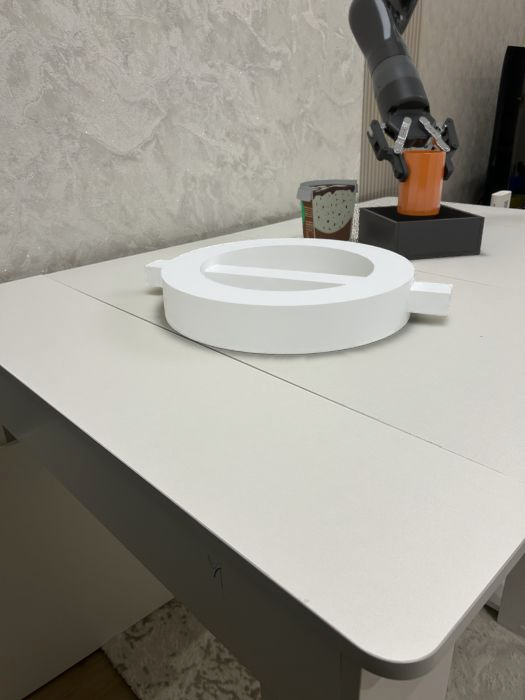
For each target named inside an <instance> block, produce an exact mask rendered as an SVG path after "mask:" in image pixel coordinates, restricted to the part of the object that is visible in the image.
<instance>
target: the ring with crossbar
mask: <svg viewBox="0 0 525 700" xmlns="http://www.w3.org/2000/svg"><path fill="white" fill-rule="evenodd" d="M143 269H144V277H145V278H144V279H145V286H146V287H153V288H154V287H156V288H162V297H163V307H164V317H165V320H166V322H167V324H168V325H169V326H170V327H171V328H172V329H173V330H174V331H175V332H177V333H178V334H180V335H182V336H184V337H186V338H188V339H190V340H193V341H195V342H197V343H201V344H203V345H207V346H211V347H215V348H219V349H225V350H229V351H236V352H243V353H251V354H265V355H266V354H267V355H303V354H304V355H307V354H319V353H320V354H321V353H328V352H335V351H341V350H348V349H353V348H357V347H361V346H365V345H368V344H372V343H375V342H377V341H381V340H382V339H385V338H387V337H389V336H392V335H394V334H395V333H397V332H398V331H399V330H401V329H402V328H403V327H405V326H406V325H407V323H408V321H409V320H410V318H411V313H413V314H422V315H423V314H424V315H430V316H431V315H432V316H440V317H441V316H442V317H448V316H449V313H450V308H451V302H452V296H453V295H452V294H453V287H454V286H453V283H440V282H429V281H428V282H427V281H416V280H415V273H416V271H415V270H416V269H415V266H414V264H413V263H412V262H411V260H407V259H406V258H405V257H403V256H401V255H399V254H397V253H394V252H392V251H389V250H386V249H383V248H379V247H375V246H371V245H366V244H362V243H361V242H353V241H351V242H348V241H340V240H329V239H313V238H303V237H278V238H277V237H275V238H274V237H273V238H258V239H257V238H256V239H245V240H237V241H236V240H235V241H229V242H224V243H218V244H213V245H208V246H203V247H200V248H197V249H196V248H195V249H193V250H190V251H187V252H184V253H182V254H179V255H178V256H175V257H173V258H171V260H170V259H169V260H168V259H156V260H154V261H152V262H149V263H148V264H145V265H144V266H143Z"/></svg>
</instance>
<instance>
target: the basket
mask: <svg viewBox="0 0 525 700" xmlns="http://www.w3.org/2000/svg"><path fill="white" fill-rule="evenodd" d="M358 212H359V213H358V229H357V231H358V232H357V242H358V243H361V244H366V245H371V246H375V247H379V248H383V249H386V250H389V251H392V252H394V253H397V254H399V255H401V256H403V257H405V258H406V259H407V260H409V261H412V260H425V259H436V258H438V259H439V258H449V257H462V256H464V257H465V256H475V255H476V256H477V255H480V254H481V248H482V242H483V233H484V226H485V219H486V217H485V216H482V215H479V214H475V213H472V212H470V211H466V210H463V209H459V208H456V207H452V206H449V205H445V204H443V203H440V210H439V213H438V214H436V215H429V216H412V215H404V214H400V213H398V212H397V205H382V206H381V205H380V206H365V207H359V210H358Z"/></svg>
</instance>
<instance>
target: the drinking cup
mask: <svg viewBox="0 0 525 700" xmlns="http://www.w3.org/2000/svg"><path fill="white" fill-rule="evenodd" d="M400 154H403V155H404V158H405V161H406V164H407V167H408V171H409V176H408V178H407V179H406V181H405V182H401V183H400V182H399V181H398V190H397V202H396V204H397V212H398V213H400V214H404V215H412V216H429V215H436V214H438V213H439V210H440V204H442V203H441V201H442V192H443V184H444V181H443V175H444V166H445V157H446V152H445V151H440V149H437V150H422V149H412V150H411V149H409V150H402V151H401V153H400Z"/></svg>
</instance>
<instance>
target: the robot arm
mask: <svg viewBox="0 0 525 700" xmlns="http://www.w3.org/2000/svg"><path fill="white" fill-rule="evenodd" d="M418 3H419V0H351V2H350V5H349V7H348V15H347V19H348V20H347V21H348V26H349V29H350V31H351V34H352V35H353V38H354V40H355V42H356V44H357V46H358V48H359V50H360V52H361V55H363V58H364V60H365V62H366V63H365V64H366V68H367V71H368V74H369V78H370V81H371V87H372V93H373V98H374V101H375V103H376V106H377V109H378V113H379V116H380V120H381V122H379V120H378V119H372V120H371V121H370V124H369V127H368V129H367V131H366V136H367V138H368V142H369V143H370V146H371V148H372V151H373V153H374V156H375V159H376V161H377V162H378V161H379V162H383V161H387V162H388V163H389V164H390V166H391V169H392V172H393V176H394V178H395V179H396V180H398V183H399V182H400V183H401V182H405V181H406V179H407V178H408V176H409V171H408V167H407V164H406V161H405V158H404V155H403V154H401V153H402V151H403V149H411V148H415V149H420V150H439V151H445V152H446V157H445V166H444V175H443V182H444V181H446V182H447V181H449V179H450V178H451V176H452V175H453V172H455V166H454V165H453V161H452V158H453V157H454V155H455V153H456V152H457V150H458V149H459V148H460V141H459V139H458V138H459V137H458V134H457V130H456V127H455V122H454V119H452V118H451V117H447V118H446V119H445V121H437V120H436V119H435V118H434V116H433V115H432V114H431V106H430V105H431V104H430V101H429V99H428V96H427V95H428V94H427V93H426V90H425V86H424V84H423V82H422V81H423V80H422V78H421V76H420V73H419V69H418V68H417V66H416V65H415V63H414V60H413V58H412V55H411V52H410V49H409V46H408V43H407V42H406V40H405V39H404V38H403V35H404V34H405V32H406V30H407V27H408V25H409V24H410V21H411V19H412V17H413V14H414V12H415V9H416V8H417V5H418ZM386 136H387V137H388V138H390V139H391V140H392V141H393V143H392V146H391V147H390V145H389V143H388V141H387V138H386ZM429 140H430V142H429ZM437 148H438V149H437Z"/></svg>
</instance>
